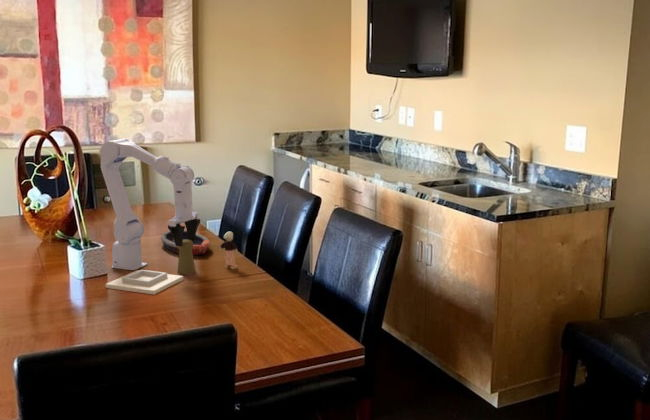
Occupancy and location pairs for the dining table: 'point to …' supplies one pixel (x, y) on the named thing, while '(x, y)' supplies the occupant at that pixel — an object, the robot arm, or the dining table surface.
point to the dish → (198, 244)
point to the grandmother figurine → (229, 250)
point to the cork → (186, 258)
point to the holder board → (145, 281)
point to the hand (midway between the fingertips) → (185, 243)
